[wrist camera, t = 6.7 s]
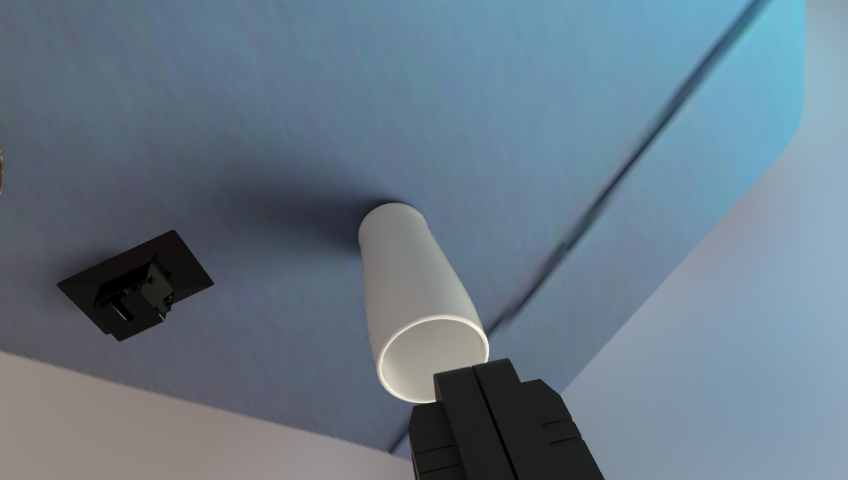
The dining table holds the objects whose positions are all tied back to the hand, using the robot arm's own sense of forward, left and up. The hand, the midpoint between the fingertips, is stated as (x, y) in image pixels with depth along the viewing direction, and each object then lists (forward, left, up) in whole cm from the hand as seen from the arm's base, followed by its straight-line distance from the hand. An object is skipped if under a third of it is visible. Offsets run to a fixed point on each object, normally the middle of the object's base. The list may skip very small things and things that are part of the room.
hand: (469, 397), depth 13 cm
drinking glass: (-2, +16, -33) cm, 37 cm away
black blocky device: (+17, +17, -34) cm, 41 cm away
